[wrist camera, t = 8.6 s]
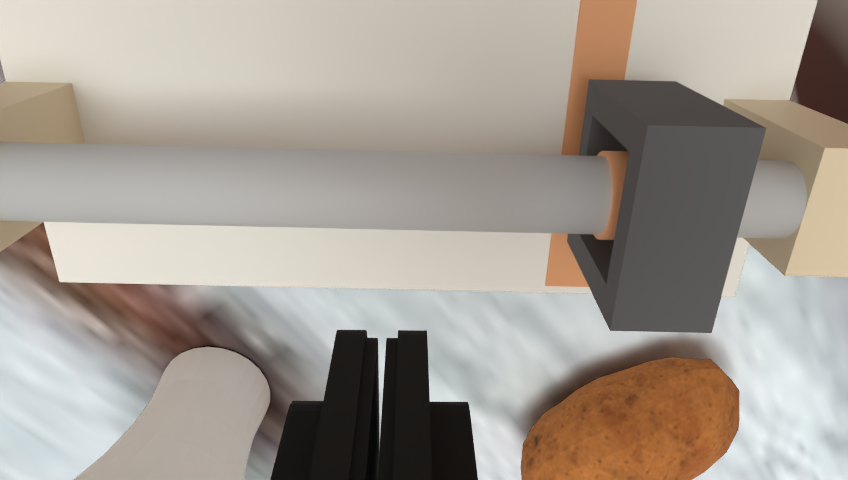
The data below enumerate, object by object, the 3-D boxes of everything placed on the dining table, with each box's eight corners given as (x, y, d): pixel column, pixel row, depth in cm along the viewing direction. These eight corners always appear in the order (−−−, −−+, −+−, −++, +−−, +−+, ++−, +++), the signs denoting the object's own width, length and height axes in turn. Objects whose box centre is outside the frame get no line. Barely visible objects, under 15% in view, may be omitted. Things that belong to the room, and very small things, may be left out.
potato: (491, 395, 37) (504, 488, 31) (695, 311, 34) (757, 393, 28) (538, 472, 40) (560, 573, 33) (731, 400, 37) (795, 494, 31)
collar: (589, 79, 25) (648, 125, 18) (675, 81, 25) (766, 128, 18) (566, 241, 28) (609, 330, 22) (644, 242, 28) (711, 332, 22)
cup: (263, 476, 40) (191, 708, 28) (107, 415, 38) (-46, 636, 25) (332, 363, 36) (283, 574, 24) (162, 287, 34) (12, 477, 22)
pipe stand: (-11, -52, 26) (-212, -54, 18) (810, -31, 27) (983, -24, 18) (71, 271, 33) (-47, 376, 25) (724, 285, 34) (822, 395, 25)
